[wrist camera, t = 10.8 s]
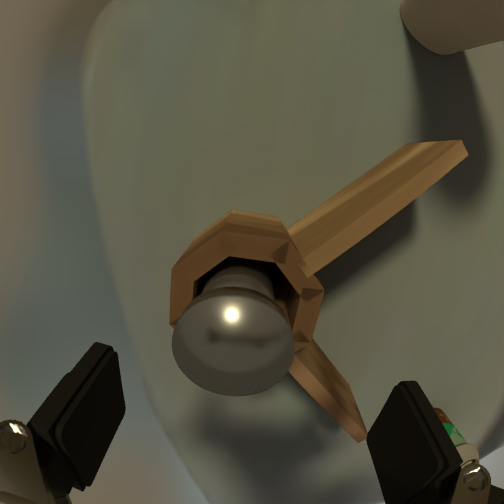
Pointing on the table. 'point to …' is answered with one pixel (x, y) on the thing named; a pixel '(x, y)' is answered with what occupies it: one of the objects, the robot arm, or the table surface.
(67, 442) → the robot arm
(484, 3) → the coffee cup
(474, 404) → the table surface
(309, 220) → the hinge
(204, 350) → the pin
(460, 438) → the food container
